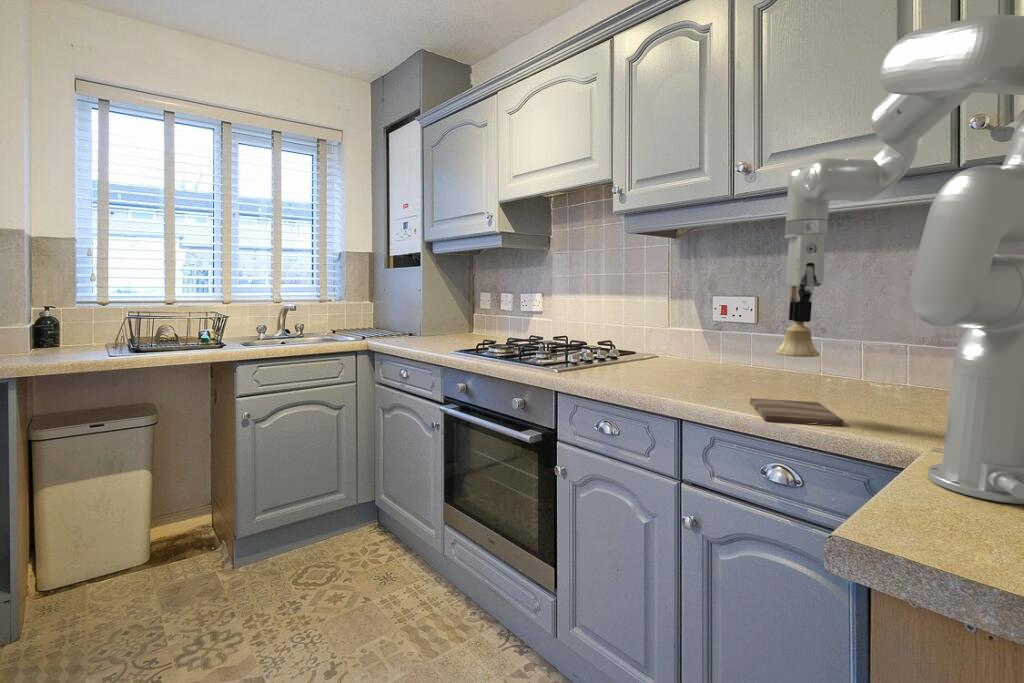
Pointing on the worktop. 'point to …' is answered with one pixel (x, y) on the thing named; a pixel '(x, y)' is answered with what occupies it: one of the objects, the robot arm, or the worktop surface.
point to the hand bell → (798, 340)
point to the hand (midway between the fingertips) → (799, 320)
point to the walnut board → (794, 412)
